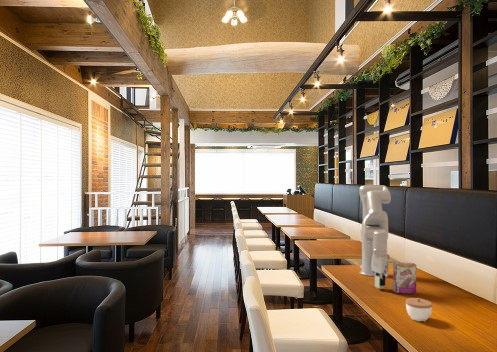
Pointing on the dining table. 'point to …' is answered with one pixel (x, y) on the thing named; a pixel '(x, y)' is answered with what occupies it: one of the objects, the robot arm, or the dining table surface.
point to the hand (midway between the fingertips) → (380, 284)
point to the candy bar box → (404, 278)
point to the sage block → (378, 282)
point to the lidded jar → (418, 308)
